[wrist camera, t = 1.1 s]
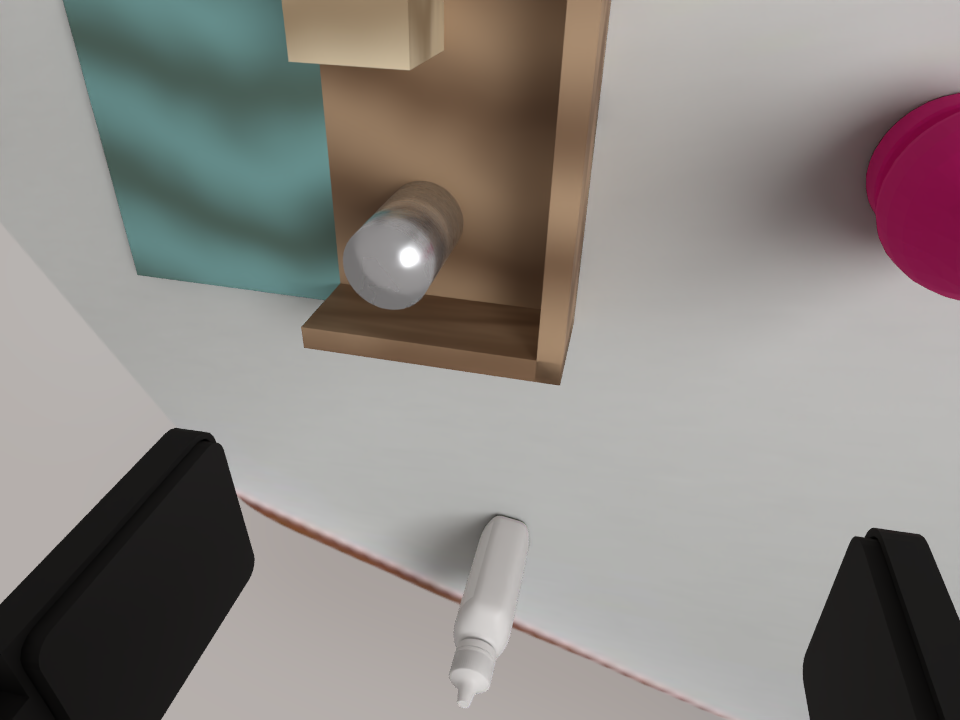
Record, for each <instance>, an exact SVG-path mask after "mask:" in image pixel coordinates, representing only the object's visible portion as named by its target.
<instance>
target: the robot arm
mask: <svg viewBox="0 0 960 720" xmlns="http://www.w3.org/2000/svg"><path fill="white" fill-rule="evenodd" d="M253 567H254V554H253V550H252V547H251V543H250V540H249V536H248V533H247V529H246V526H245V523H244V519H243V515H242V512H241V508H240V505H239V501H238V498H237V494H236V491H235V487H234V484H233V481H232V477H231V474H230V470H229V467H228V463H227V460H226V456H225V453H224V450H223V447H222V446H221V445H220V444H219V443H216V441H215V439H214V436H212V435H211V434H210V433H207V432H201V431H194V430H187V429H180V428H174V429H171V430H169V431H168V432H167V433H165V434H164V435H163V437H161V439H160V440H159V441H158V442H157V443H156V444H155V445H154V446H153V447H152V448H151V449H150V450H149V451H148V452H147V453H146V454H145V455H144V456H143V457H142V458H141V459H140V460H139V461H138V462H137V463H136V464H135V465H134V467H132V469H131V470H130V471H129V472H128V473H127V474H126V475H125V476H124V477H123V478H122V479H121V480H120V481H119V482H118V483H117V484H116V485H115V486H114V487H113V488H112V489H111V490H110V491H109V492H108V493H107V494H106V495H105V496H104V497H103V499H102V500H101V501H100V502H99V503H98V504H97V505H96V506H95V507H94V508H93V509H92V510H91V511H90V512H89V513H88V514H87V515H86V516H85V517H84V518H83V519H82V520H81V521H80V522H79V523H78V525H76V527H75V528H74V529H73V530H72V531H71V532H70V533H69V534H68V535H67V536H66V537H65V538H64V539H63V540H62V541H61V542H60V543H59V544H58V545H57V546H56V547H55V548H54V549H53V550H52V551H51V552H50V553H49V555H47V556H46V558H45V559H44V560H43V561H42V562H41V563H40V564H39V565H38V566H37V567H36V568H35V569H34V570H33V571H32V572H31V573H30V574H29V575H28V576H27V577H26V578H25V579H24V580H23V581H22V582H21V584H20V585H18V586H17V588H16V589H15V590H14V591H13V592H12V593H11V594H10V595H9V596H8V597H7V598H6V599H5V600H4V601H3V602H2V603H1V604H0V720H161V719H162V717H163V716H164V714H165V713H166V711H167V709H168V708H169V706H170V704H171V703H172V701H173V700H174V698H175V697H176V695H177V693H178V692H179V690H180V688H181V687H182V685H183V684H184V682H185V681H186V679H187V677H188V675H189V674H190V673H191V671H192V670H193V668H194V666H195V664H196V663H197V662H198V660H199V658H200V657H201V655H202V654H203V652H204V650H205V649H206V647H207V646H208V644H209V642H210V641H211V639H212V637H213V636H214V634H215V633H216V631H217V630H218V628H219V626H220V625H221V623H222V622H223V620H224V619H225V617H226V615H227V614H228V612H229V611H230V609H231V607H232V606H233V604H234V603H235V601H236V599H237V598H238V596H239V595H240V593H241V592H242V590H243V588H244V587H245V585H246V583H247V582H248V580H249V578H250V576H251V574H252V571H253ZM803 682H804V688H805V694H806V699H807V705H808V711H809V716H810V720H960V620H959V617H958V615H957V613H956V610H955V608H954V605H953V603H952V601H951V598H950V596H949V593H948V591H947V589H946V586H945V584H944V581H943V579H942V576H941V574H940V572H939V569H938V567H937V564H936V562H935V560H934V557H933V555H932V552H931V550H930V548H929V545H928V543H927V541H926V540H925V538H924V537H923V536H921V535H920V534H913V533H906V532H899V531H892V530H885V529H878V528H871V529H870V530H869V531H868V532H867V534H866V536H865V538H864V537H857V536H855V537H853V538H852V540H851V542H850V544H849V546H848V549H847V551H846V554H845V556H844V559H843V561H842V564H841V566H840V569H839V571H838V574H837V576H836V579H835V581H834V584H833V586H832V589H831V591H830V594H829V596H828V599H827V601H826V604H825V606H824V609H823V611H822V614H821V616H820V619H819V621H818V624H817V626H816V629H815V631H814V634H813V636H812V639H811V641H810V644H809V646H808V649H807V651H806V654H805V657H804V662H803Z"/></svg>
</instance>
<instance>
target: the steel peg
mask: <svg viewBox="0 0 960 720" xmlns="http://www.w3.org/2000/svg"><path fill="white" fill-rule="evenodd" d="M462 231H463V215H462V211H461V208H460V206H459V204H458V203H457V201H456V199H455V198H454V197H453V196H452V195H451V194H450V193H449V192H448V191H447V190H446V189H444V188H443V187H441V186H439V185H437V184H435V183H432V182H427V181H414V182H410V183H408V184H405V185H404V186H402V187H400V188H399V189H398V190H397V191H396V192H395V193H394V194H393V195H392V196H391V197H390V198H389V199H388V200H387V201H386V202H385V203H384V204H383V205H382V206H381V207H380V208H379V209H378V210H377V211H376V212H375V213H374V215H373V216H372V217H371V218H370V219H369V220H368V221H367V222H366V223H365V224H364V225H363V226H362V227H361V228H360V229H359V230H358V231H357V232H356V233H355V234H354V235H353V236H352V237H351V238H350V239H349V241H348V243H347V244H346V247H345V249H344V253H343V267H344V272H345V275H346V277H347V280H348V281H349V283H350V285H351V286H352V288H353V289H354V290H355V291H356V292H357V294H358V295H360V296H361V297H362V298H363V299H365V300H366V301H367V302H369V303H371V304H373V305H375V306H377V307H380V308H384V309H391V310H398V309H404V308H407V307H410V306H412V305H414V304H415V303H417V302H418V301H419V300H420V299H421V298H422V297H423V296H424V294H425V293H426V291H427V290H428V288H429V287H430V285H431V283H432V282H433V280H434V279H435V277H436V276H437V274H438V272H439V271H440V269H441V268H442V266H443V265H444V263H445V261H446V260H447V258H448V257H449V255H450V254H451V252H452V250H453V249H454V247H455V246H456V244H457V243H458V241H459V239H460V237H461V235H462Z"/></svg>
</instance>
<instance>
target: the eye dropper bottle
mask: <svg viewBox="0 0 960 720" xmlns="http://www.w3.org/2000/svg"><path fill="white" fill-rule="evenodd" d="M528 549H529V533H528V529H527V526H526V525H525V523H523V522H521V521H518V520H515V519H511V518H508V517H504V516H496V517H494V518H493V519H492V520H491V521H490V522H489V523H488V524H487V525H486V527H485V528H484V530H483V532H482V534H481V536H480V540H479V543H478V546H477V550H476V553H475V556H474V560H473V563H472V567H471V570H470V573H469V577H468V580H467V583H466V587H465V590H464V594H463V597H462V600H461V604H460V608H459V611H458V615H457V618H456V621H455V626H454V642H455V645H456V652H455V655H454V659H453V662H452V666H451V669H450V673H449V678H450V681H451V682H452V684H453V685H454V686H455V687H457V688H458V700H457V704H458V705H459V706H460V707H462V708H468V707H469V706H470V704H471V702H472V700H473V697H474V695H475V694H480V693H484V692H485V691H487V690H488V689H489V687H490V684H491V679H492V675H493V671H494V666H495V662H496V658H497V657H499V655H501V653H502V652H503V651H504V649H505V647H506V646H507V643H508V641H509V637H510V634H511V629H512V625H513V620H514V615H515V611H516V606H517V601H518V596H519V592H520V587H521V582H522V578H523V573H524V568H525V564H526V559H527V554H528Z"/></svg>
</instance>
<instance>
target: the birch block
mask: <svg viewBox="0 0 960 720" xmlns="http://www.w3.org/2000/svg"><path fill="white" fill-rule="evenodd" d="M282 9H283V17H284V26H285V34H286V43H287V51H288V60H289V62H300V63H314V64H328V65H342V66H356V67H370V68H384V69H398V70H411V69H413V68H415V67H416V66H418V65H420V64H421V63H423V62H425V61H427V60H428V59H430V58H432V57H433V56H435V55H437V54H439V53H440V52H442V51H444V0H282Z"/></svg>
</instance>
